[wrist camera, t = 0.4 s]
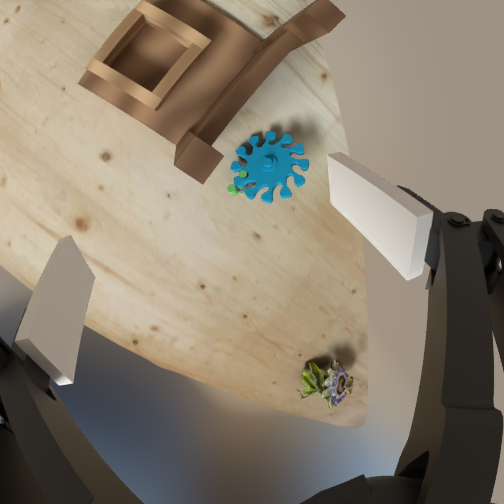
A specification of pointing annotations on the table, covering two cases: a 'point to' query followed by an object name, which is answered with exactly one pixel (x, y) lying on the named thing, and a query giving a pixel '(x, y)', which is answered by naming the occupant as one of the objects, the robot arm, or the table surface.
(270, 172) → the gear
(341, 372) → the passion flower
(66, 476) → the robot arm
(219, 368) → the table surface
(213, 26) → the wooden holder stand
